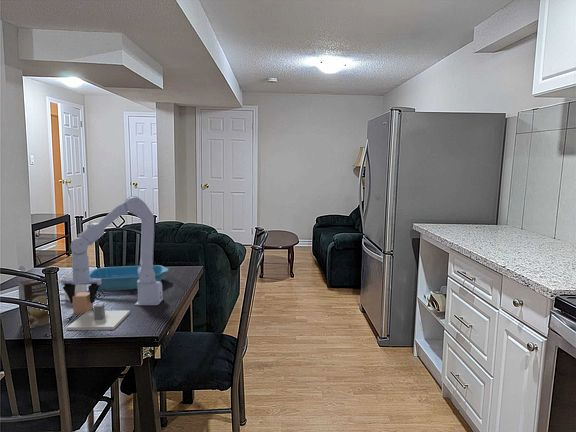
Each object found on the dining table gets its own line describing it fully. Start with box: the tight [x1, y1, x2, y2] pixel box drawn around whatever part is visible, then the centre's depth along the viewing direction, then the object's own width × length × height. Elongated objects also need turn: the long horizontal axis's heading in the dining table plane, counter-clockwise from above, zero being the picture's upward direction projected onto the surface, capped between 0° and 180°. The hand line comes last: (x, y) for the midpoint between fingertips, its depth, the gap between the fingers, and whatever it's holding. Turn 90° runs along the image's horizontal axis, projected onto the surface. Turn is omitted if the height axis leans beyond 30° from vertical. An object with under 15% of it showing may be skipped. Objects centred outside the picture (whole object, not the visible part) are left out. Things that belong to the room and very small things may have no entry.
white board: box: [66, 303, 131, 331], centre depth 149 cm, size 16×16×6 cm
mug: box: [57, 272, 87, 302], centre depth 174 cm, size 12×8×10 cm
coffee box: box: [17, 279, 50, 329], centre depth 146 cm, size 9×6×16 cm
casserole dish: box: [89, 264, 169, 292], centre depth 195 cm, size 37×22×7 cm, turn 103°
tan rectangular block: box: [72, 291, 94, 314], centre depth 160 cm, size 5×5×7 cm
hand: (82, 302), depth 160 cm, fingers open, 7 cm apart
